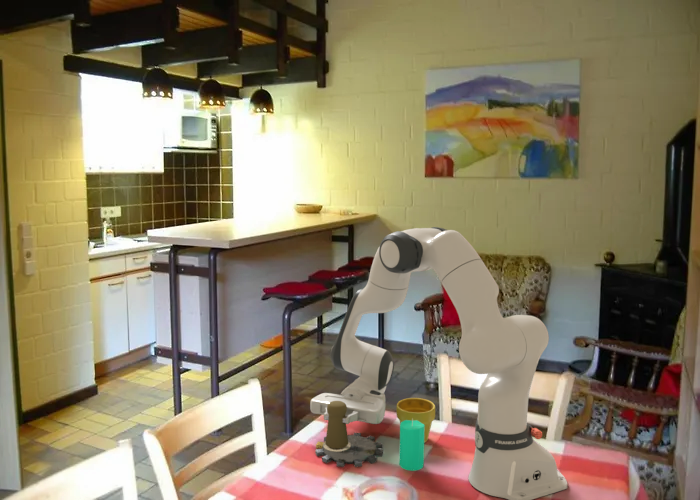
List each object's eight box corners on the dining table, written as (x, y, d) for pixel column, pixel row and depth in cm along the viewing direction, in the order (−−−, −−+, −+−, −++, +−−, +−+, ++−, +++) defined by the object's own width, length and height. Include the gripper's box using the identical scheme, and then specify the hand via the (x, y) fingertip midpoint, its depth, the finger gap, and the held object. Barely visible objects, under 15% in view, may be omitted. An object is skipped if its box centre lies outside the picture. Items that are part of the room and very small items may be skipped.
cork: (340, 450, 153) (341, 408, 151) (320, 444, 156) (320, 404, 154) (352, 441, 158) (352, 400, 156) (332, 435, 161) (332, 396, 159)
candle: (424, 470, 146) (426, 423, 144) (400, 470, 146) (401, 423, 144) (422, 459, 152) (423, 413, 150) (398, 458, 152) (399, 413, 150)
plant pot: (407, 451, 156) (408, 415, 155) (389, 434, 165) (389, 400, 164) (441, 443, 160) (442, 408, 159) (422, 428, 170) (422, 395, 168)
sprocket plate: (371, 432, 167) (371, 428, 167) (392, 462, 150) (392, 457, 150) (309, 439, 162) (309, 435, 162) (323, 471, 145) (323, 466, 145)
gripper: (322, 384, 171) (299, 401, 159) (390, 394, 163) (372, 413, 151) (322, 405, 172) (299, 424, 159) (390, 416, 164) (372, 437, 152)
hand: (335, 419), depth 155 cm, fingers closed on cork, 4 cm apart
